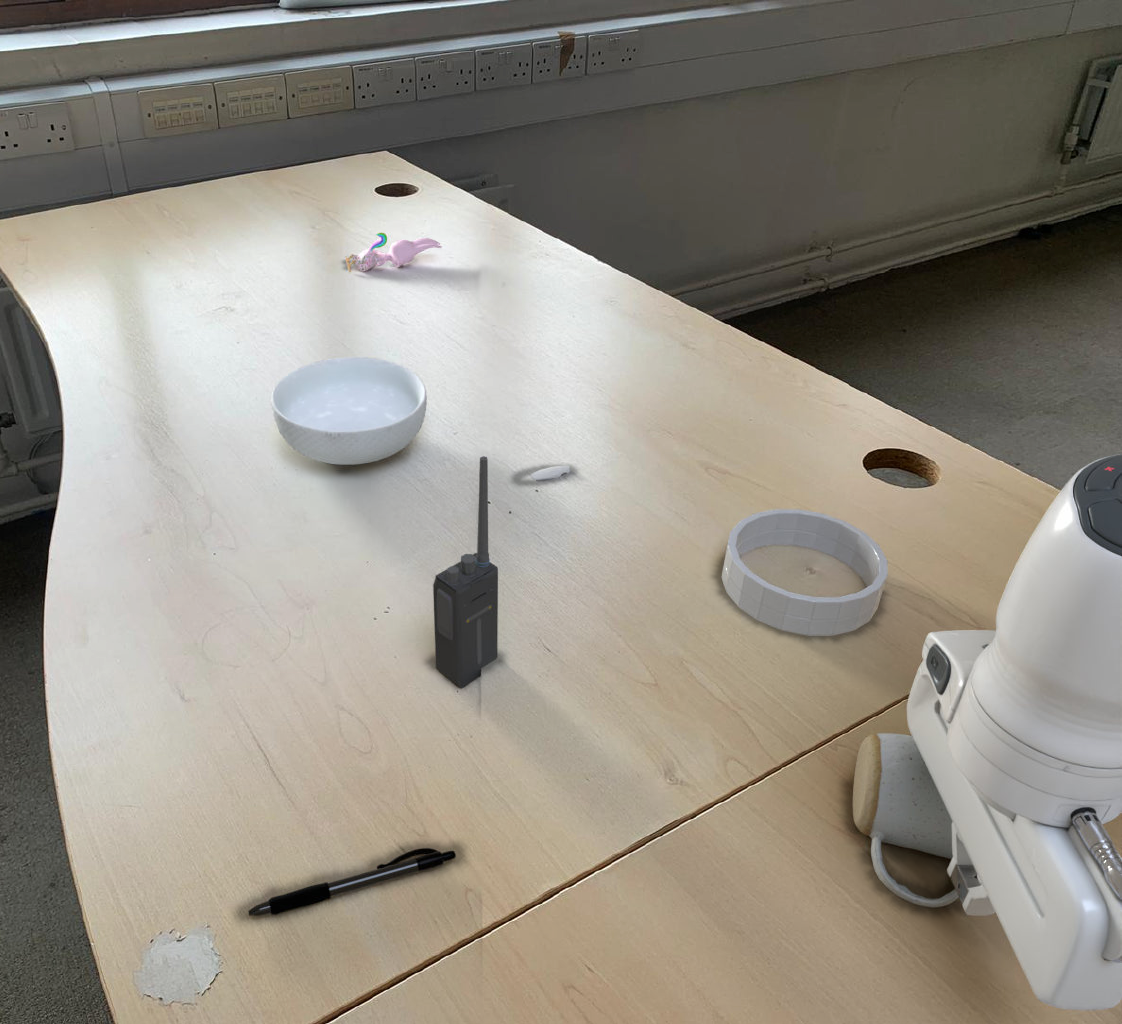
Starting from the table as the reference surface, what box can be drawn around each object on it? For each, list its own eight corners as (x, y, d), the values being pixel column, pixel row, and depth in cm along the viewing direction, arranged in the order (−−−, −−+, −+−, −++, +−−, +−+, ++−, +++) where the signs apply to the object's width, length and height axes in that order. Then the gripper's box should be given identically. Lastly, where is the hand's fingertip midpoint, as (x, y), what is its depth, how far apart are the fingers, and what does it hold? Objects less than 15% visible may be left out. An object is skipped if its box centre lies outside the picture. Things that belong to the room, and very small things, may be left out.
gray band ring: (849, 547, 95) (859, 509, 93) (897, 643, 84) (911, 602, 82) (708, 546, 96) (715, 508, 93) (738, 641, 85) (746, 601, 82)
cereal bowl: (248, 466, 109) (239, 410, 104) (325, 398, 121) (320, 346, 117) (385, 501, 103) (382, 443, 98) (451, 427, 115) (451, 372, 111)
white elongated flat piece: (519, 494, 104) (519, 485, 103) (512, 481, 106) (512, 473, 105) (574, 481, 105) (574, 472, 104) (566, 469, 107) (565, 460, 106)
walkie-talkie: (472, 642, 85) (473, 443, 73) (500, 663, 83) (505, 461, 71) (430, 669, 82) (424, 467, 71) (457, 691, 80) (456, 486, 69)
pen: (450, 846, 68) (449, 835, 68) (457, 866, 67) (457, 855, 66) (247, 903, 65) (244, 893, 64) (251, 925, 64) (249, 915, 63)
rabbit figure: (352, 285, 153) (446, 262, 153) (343, 249, 149) (439, 225, 150) (348, 270, 158) (439, 248, 158) (339, 235, 154) (432, 212, 155)
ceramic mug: (845, 773, 73) (869, 701, 68) (966, 798, 71) (999, 725, 66) (850, 900, 65) (878, 827, 60) (987, 931, 63) (1027, 858, 58)
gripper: (1227, 920, 44) (1110, 1072, 52) (1020, 615, 61) (956, 765, 69) (1082, 918, 44) (988, 1069, 52) (916, 614, 61) (864, 764, 69)
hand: (968, 894), depth 61 cm, fingers closed
